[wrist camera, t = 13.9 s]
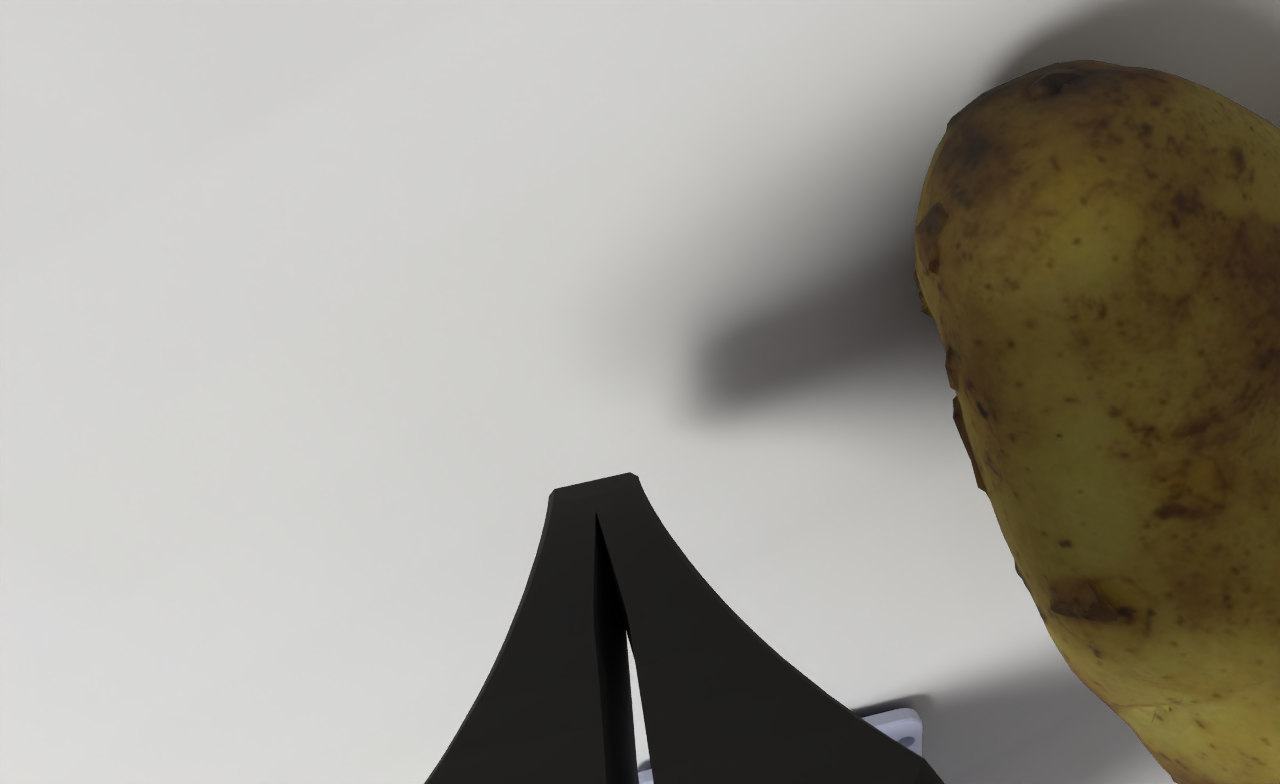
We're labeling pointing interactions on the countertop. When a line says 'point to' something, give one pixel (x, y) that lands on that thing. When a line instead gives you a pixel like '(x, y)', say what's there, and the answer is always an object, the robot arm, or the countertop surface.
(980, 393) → the potato
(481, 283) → the countertop surface
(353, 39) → the countertop surface
